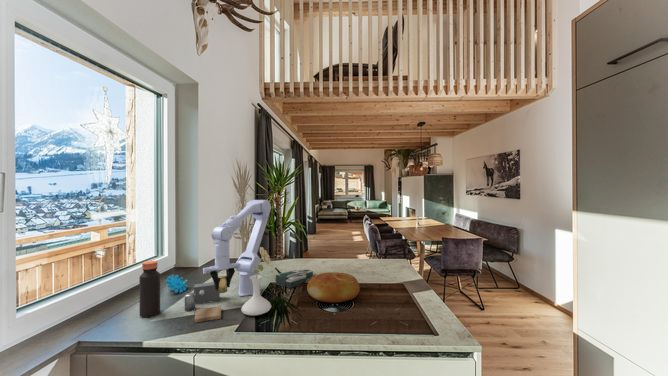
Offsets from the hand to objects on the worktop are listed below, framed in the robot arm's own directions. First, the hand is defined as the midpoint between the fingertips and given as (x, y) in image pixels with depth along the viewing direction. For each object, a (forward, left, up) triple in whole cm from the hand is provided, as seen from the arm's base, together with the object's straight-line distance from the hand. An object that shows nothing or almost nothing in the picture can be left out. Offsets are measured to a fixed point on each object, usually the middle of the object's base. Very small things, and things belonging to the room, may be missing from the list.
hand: (222, 287), depth 119 cm
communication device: (-37, -19, -8) cm, 42 cm away
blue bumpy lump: (+20, -24, -7) cm, 32 cm away
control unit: (+6, -7, -7) cm, 12 cm away
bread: (-47, +8, -7) cm, 48 cm away
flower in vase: (-13, +12, -7) cm, 19 cm away
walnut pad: (+5, +9, -7) cm, 12 cm away
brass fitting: (0, 0, -2) cm, 2 cm away
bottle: (+26, -1, -7) cm, 27 cm away
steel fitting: (+12, 0, -7) cm, 14 cm away
